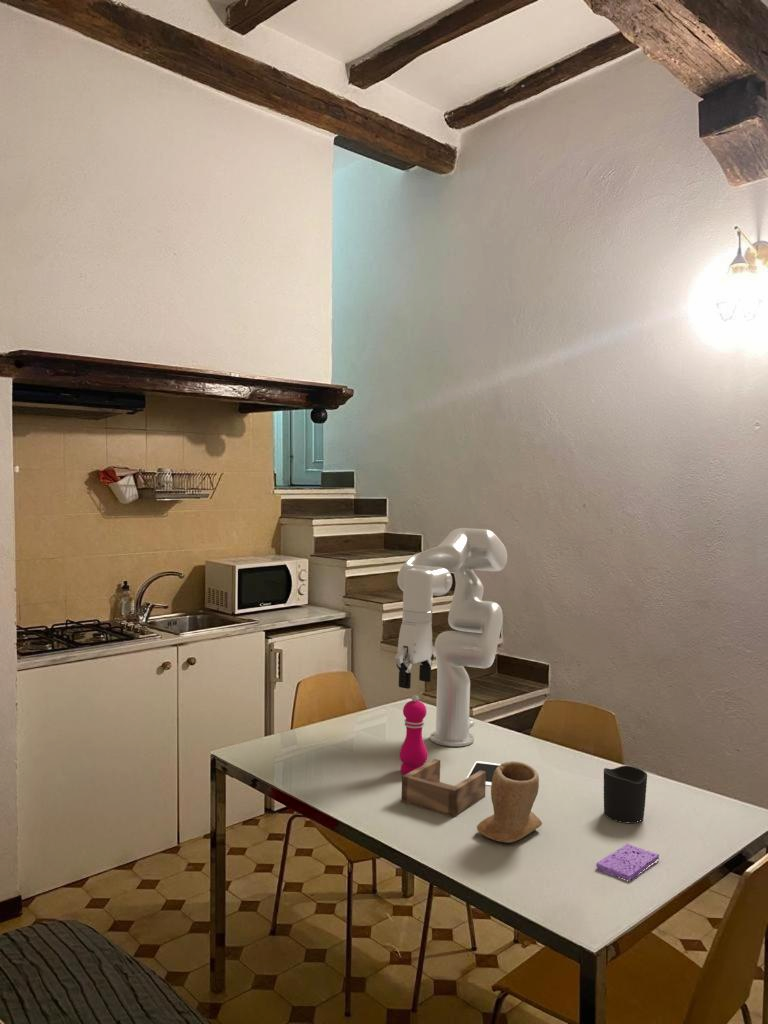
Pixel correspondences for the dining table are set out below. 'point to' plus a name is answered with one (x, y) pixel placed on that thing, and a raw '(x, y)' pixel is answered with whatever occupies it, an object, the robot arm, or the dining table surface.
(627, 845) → the sponges
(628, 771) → the pen holder
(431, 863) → the dining table surface
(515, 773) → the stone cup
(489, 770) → the cell phone
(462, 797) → the holder
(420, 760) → the pepper mill
